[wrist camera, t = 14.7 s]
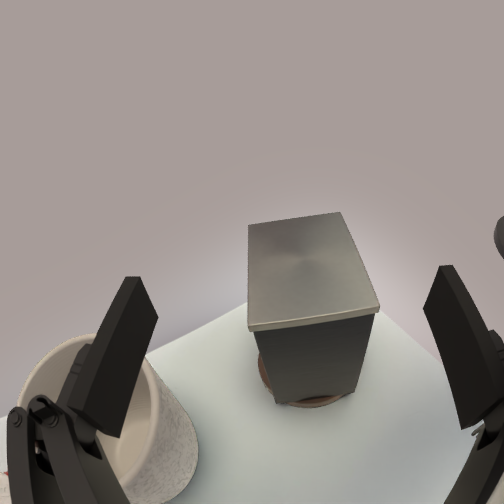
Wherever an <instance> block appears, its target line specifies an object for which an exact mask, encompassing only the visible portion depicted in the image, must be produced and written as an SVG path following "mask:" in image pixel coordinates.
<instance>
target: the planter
mask: <svg viewBox="0 0 504 504" xmlns="http://www.w3.org/2000/svg"><path fill="white" fill-rule="evenodd" d="M96 334H97V333H94V334H86V335H81V336H77V337H74V338H72V339H69V340H67V341H65V342H63V343H61V344H60V345H58V346H57V347H55V348H54V349H52V350H51V351H50V352H49V353H47V354H46V355H45V356H44V357H43V358H42V359H41V360H40V361H39V362H38V363H37V365H36V366H35V367H34V369H33V370H32V371H31V373H30V374H29V376H28V378H27V379H26V381H25V383H24V385H23V387H22V390H21V392H20V395H19V398H18V402H17V406H19V407H22V408H23V409H25V410H26V411H27V406H28V403H29V402H30V400H31V399H32V398H33V397H35V396H36V395H40V394H42V395H46V396H47V397H48V398H49V399H50V400H51V401H53V402H54V403H56V401H57V399H58V397H59V394H60V392H61V389H62V387H63V384H64V382H65V380H66V377H67V375H68V373H69V372H70V371H69V370H70V368H71V366H72V365H73V361H74V359H75V357H76V355H77V353H78V351H79V350H80V349H81V348H82V347H83V346H84V345H85V343H88V344H92V343H93V341H94V338H95V336H96ZM17 406H16V407H17ZM96 435H97V437H98V438H99V440H100V443H101V445H102V447H103V450H104V452H105V454H106V456H107V459H108V461H109V463H110V465H111V467H112V469H113V471H114V473H115V475H116V477H117V479H118V481H119V483H120V485H121V487H122V489H123V491H124V493H125V495H126V496H127V498H128V500H129V502H130V503H131V504H162V503H164V502H167V501H168V500H170V499H172V498H174V497H175V496H176V495H178V494H179V493H180V492H181V491H182V490H183V489H184V488H185V487H186V486H187V485H188V483H189V482H190V480H191V478H192V476H193V474H194V472H195V469H196V466H197V461H198V441H197V436H196V432H195V429H194V426H193V424H192V422H191V420H190V418H189V416H188V414H187V413H186V411H185V410H184V409H183V407H182V406H181V404H180V403H179V402H178V401H177V399H176V398H175V397H174V396H173V394H172V393H171V392H170V390H169V389H168V388H167V387H166V385H165V384H164V383H163V381H162V380H161V379H160V377H159V376H158V374H157V373H156V372H155V370H154V369H153V368H152V366H151V365H150V363H149V362H148V360H147V359H146V358H145V357H144V360H143V363H142V366H141V369H140V372H139V375H138V378H137V382H136V385H135V388H134V391H133V394H132V398H131V401H130V404H129V408H128V411H127V414H126V418H125V421H124V425H123V428H122V432H121V435H120V439H119V438H115V437H112V436H108V435H105V434H103V433H102V432H100V431H99V430H97V431H96ZM35 451H36V453H37V451H38V448H36V447H35Z"/></svg>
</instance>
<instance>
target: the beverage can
mask: <svg viewBox="0 0 504 504" xmlns="http://www.w3.org/2000/svg"><path fill="white" fill-rule="evenodd" d="M0 504H12V503H11V496H10V488H9V479H8V472H4V473H2V472H0Z"/></svg>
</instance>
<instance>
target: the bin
mask: <svg viewBox="0 0 504 504" xmlns="http://www.w3.org/2000/svg"><path fill="white" fill-rule="evenodd" d="M379 309H380V304H379V302H378V299H377V296H376V294H375V291H374V289H373V286H372V284H371V281H370V279H369V276H368V274H367V271H366V270H365V266H364V264H363V262H362V259H361V257H360V255H359V252H358V250H357V248H356V245H355V243H354V241H353V239H352V236H351V234H350V232H349V230H348V228H347V225H346V223H345V221H344V219H343V217H342V215H341V213H340V212H336V213H328V214H321V215H314V216H307V217H299V218H292V219H285V220H278V221H272V222H265V223H259V224H252V225H248V329H249V331H250V332H253V333H254V336H255V340H256V343H257V346H258V349H259V352H260V355H261V359H262V362H263V365H264V368H265V371H266V374H267V377H268V380H269V383H270V386H271V390H272V393H273V396H274V399H275V402H276V404H279V403H289V402H297V401H305V400H312V399H319V398H325V397H332V396H337V395H343V394H348V393H353V392H355V388H356V385H357V382H358V378H359V375H360V372H361V368H362V364H363V361H364V357H365V353H366V349H367V345H368V341H369V337H370V333H371V329H372V325H373V320H374V315H375V313H378V312H379Z"/></svg>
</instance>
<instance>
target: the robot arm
mask: <svg viewBox="0 0 504 504" xmlns="http://www.w3.org/2000/svg"><path fill="white" fill-rule="evenodd" d="M423 310H424V313H425V315H426V318H427V320H428V323H429V325H430V328H431V330H432V333H433V336H434V339H435V341H436V344H437V347H438V350H439V353H440V356H441V359H442V362H443V365H444V368H445V371H446V374H447V377H448V381H449V384H450V387H451V391H452V395H453V398H454V402H455V406H456V410H457V414H458V418H459V422H460V426H461V430H462V429H465V428H468V427H471V426H474V425H476V424H477V423H478V422H480V421H481V420H482V419H483V420H484V424H483V425H481V426H480V427H479V428H477V429H476V430H475V431H474V432H473V433H472V436H474V435H475V434H477V433H478V432H479V434H478V435H477V436H476V438H477V439H476V441H475V443H474V446H473V448H472V450H471V453H470V455H469V457H468V459H467V461H466V463H465V465H464V467H463V469H462V471H461V473H460V475H459V477H458V479H457V481H456V483H455V485H454V486H453V488H452V490H451V492H450V493H449V495H448V497H447V499H446V500H445V502H444V504H504V343H503V341H502V339H501V337H500V336H499V335H498V334H497V333H496V332H495V331H494V330H490V331H488V329H487V327H486V325H485V323H484V321H483V319H482V317H481V315H480V313H479V311H478V309H477V307H476V305H475V304H474V302H473V300H472V298H471V296H470V294H469V292H468V291H467V289H466V287H465V285H464V283H463V282H462V280H461V278H460V277H459V275H458V273H457V272H456V270H455V268H454V267H453V265H445V266H439V268H438V271H437V274H436V277H435V279H434V282H433V285H432V287H431V290H430V292H429V295H428V297H427V300H426V302H425V305H424V307H423ZM157 320H158V315H157V313H156V311H155V309H154V307H153V305H152V303H151V300H150V298H149V296H148V294H147V291H146V289H145V287H144V285H143V282H142V280H141V278H140V277H125V279H124V281H123V283H122V285H121V287H120V289H119V290H118V292H117V294H116V296H115V298H114V300H113V302H112V304H111V306H110V308H109V310H108V312H107V314H106V316H105V318H104V320H103V322H102V324H101V326H100V328H99V330H98V332H97V334H96V336H95V338H94V341H93V343H92V344H88V343H85V345H84V346H83V347H82V348H81V349H80V350H79V351H78V353H77V355H76V357H75V359H74V361H73V365H72V366H71V368H70V370H69V371H70V372H69V373H68V375H67V377H66V380H65V382H64V384H63V387H62V389H61V392H60V394H59V397H58V399H57V401H56V403H54V402H53V401H51V400H50V399H49V398H48V397H47V396H46V395H42V394H40V395H36V396H35V397H33V398H32V399H31V400H30V402H29V403H28V406H27V411H26V410H25V409H23V408H22V407H19V406H17V407H15V408H13V409H12V410H11V411H10V413H9V415H8V418H7V465H8V479H9V488H10V496H11V503H12V504H131V503H130V502H129V500H128V498H127V496H126V495H125V493H124V491H123V489H122V487H121V485H120V483H119V481H118V479H117V477H116V475H115V473H114V471H113V469H112V467H111V465H110V463H109V461H108V459H107V456H106V454H105V452H104V450H103V447H102V445H101V443H100V440H99V438H98V437H97V435H96V431H97V430H99V431H100V432H102V433H103V434H105V435H108V436H112V437H115V438H119V439H120V435H121V432H122V428H123V425H124V421H125V418H126V414H127V411H128V408H129V404H130V401H131V398H132V394H133V391H134V388H135V385H136V382H137V378H138V375H139V372H140V369H141V366H142V363H143V360H144V357H145V354H146V351H147V348H148V345H149V342H150V339H151V337H152V334H153V331H154V328H155V325H156V323H157ZM35 447H36V448H38V451H37V453H36V451H35Z"/></svg>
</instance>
